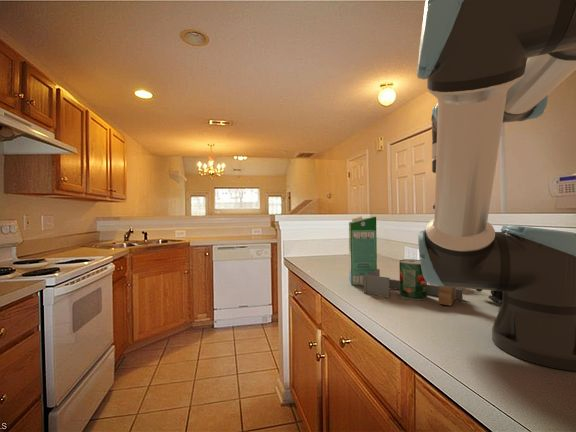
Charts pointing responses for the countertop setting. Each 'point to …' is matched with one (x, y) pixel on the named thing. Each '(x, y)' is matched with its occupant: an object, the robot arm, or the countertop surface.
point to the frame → (393, 286)
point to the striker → (447, 295)
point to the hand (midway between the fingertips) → (447, 231)
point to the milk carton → (362, 248)
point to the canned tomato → (412, 280)
